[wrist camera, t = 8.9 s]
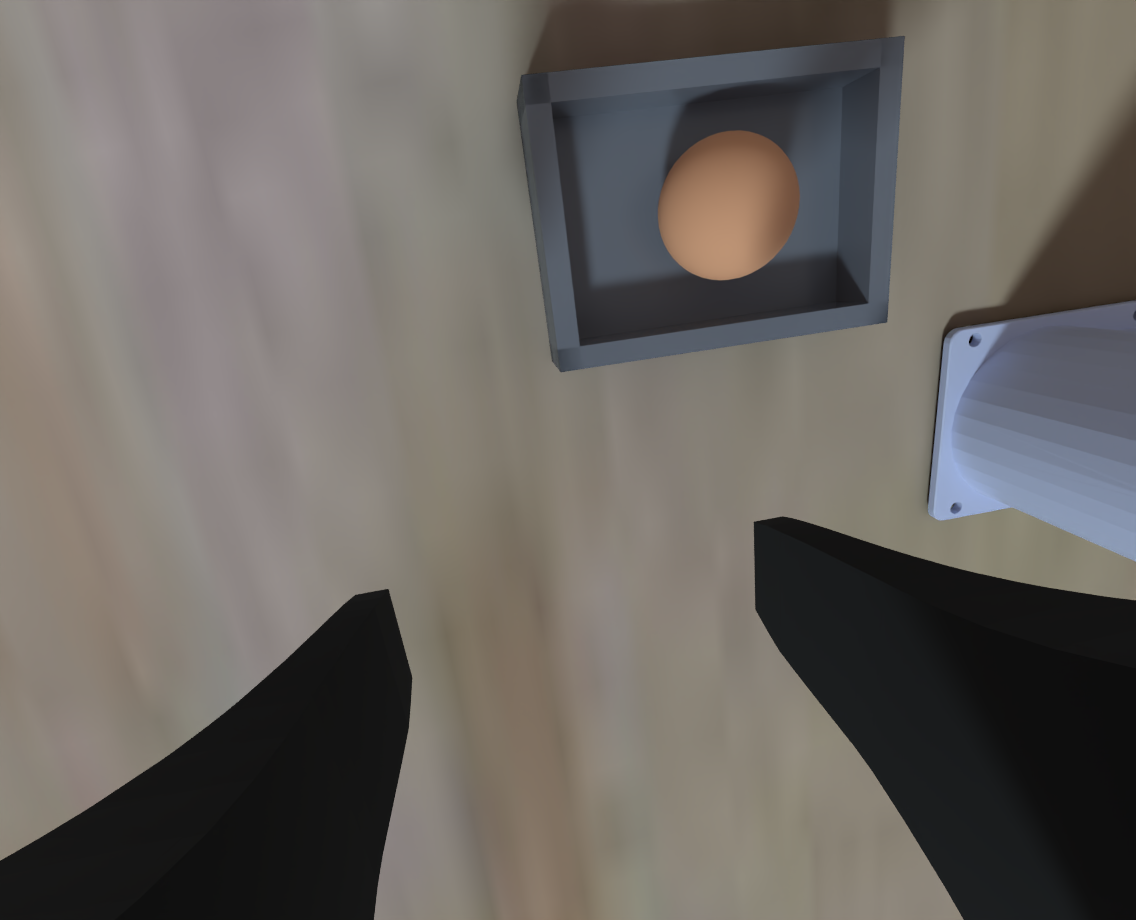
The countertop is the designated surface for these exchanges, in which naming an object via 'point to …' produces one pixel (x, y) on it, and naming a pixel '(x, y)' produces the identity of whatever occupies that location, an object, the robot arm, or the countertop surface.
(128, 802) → the robot arm
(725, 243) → the ball
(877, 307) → the dish
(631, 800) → the countertop surface
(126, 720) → the countertop surface
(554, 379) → the countertop surface
